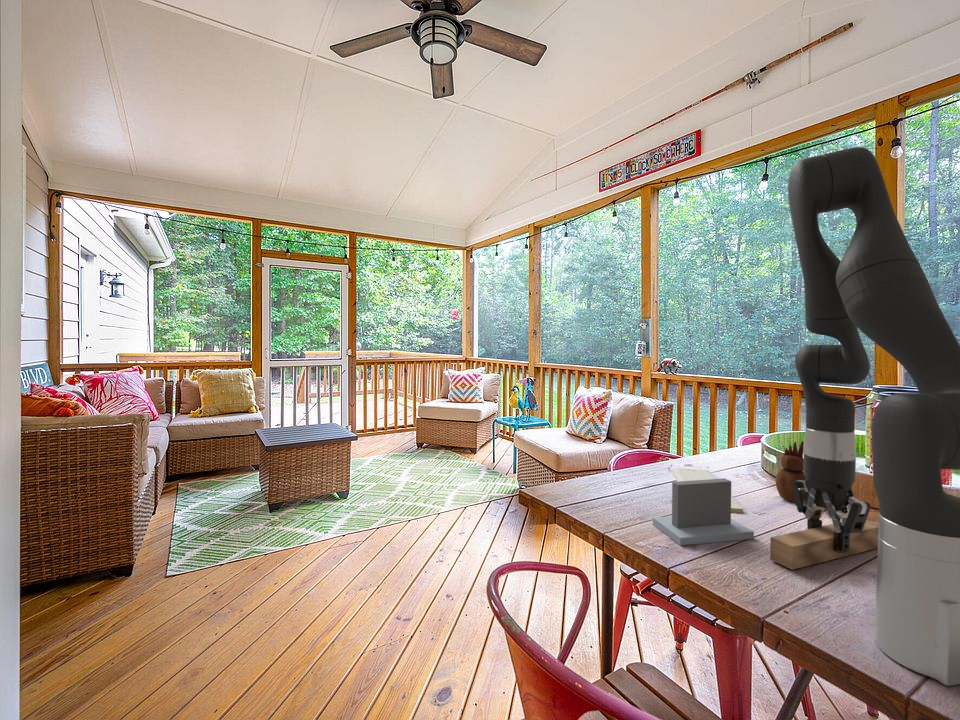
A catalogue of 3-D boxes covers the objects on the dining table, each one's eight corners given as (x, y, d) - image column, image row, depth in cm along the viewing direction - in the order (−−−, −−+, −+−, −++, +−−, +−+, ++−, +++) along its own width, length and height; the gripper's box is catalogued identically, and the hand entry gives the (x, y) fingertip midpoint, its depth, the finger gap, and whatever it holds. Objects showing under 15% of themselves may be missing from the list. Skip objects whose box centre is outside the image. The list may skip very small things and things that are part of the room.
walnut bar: (858, 538, 89) (858, 518, 88) (882, 546, 85) (882, 526, 85) (770, 559, 81) (770, 537, 80) (792, 569, 77) (792, 546, 77)
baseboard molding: (686, 511, 106) (743, 515, 103) (686, 499, 106) (743, 503, 103) (665, 472, 136) (708, 475, 133) (665, 463, 136) (708, 465, 133)
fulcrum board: (753, 538, 90) (754, 487, 89) (680, 545, 87) (680, 492, 87) (719, 518, 99) (720, 472, 99) (652, 524, 97) (653, 476, 97)
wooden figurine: (814, 503, 108) (816, 441, 107) (798, 506, 106) (799, 443, 105) (786, 494, 114) (787, 436, 114) (770, 497, 112) (771, 438, 112)
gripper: (887, 463, 75) (884, 562, 76) (812, 443, 90) (811, 528, 90) (848, 465, 74) (846, 566, 75) (779, 445, 88) (777, 530, 89)
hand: (827, 544), depth 83 cm, fingers closed on walnut bar, 4 cm apart
